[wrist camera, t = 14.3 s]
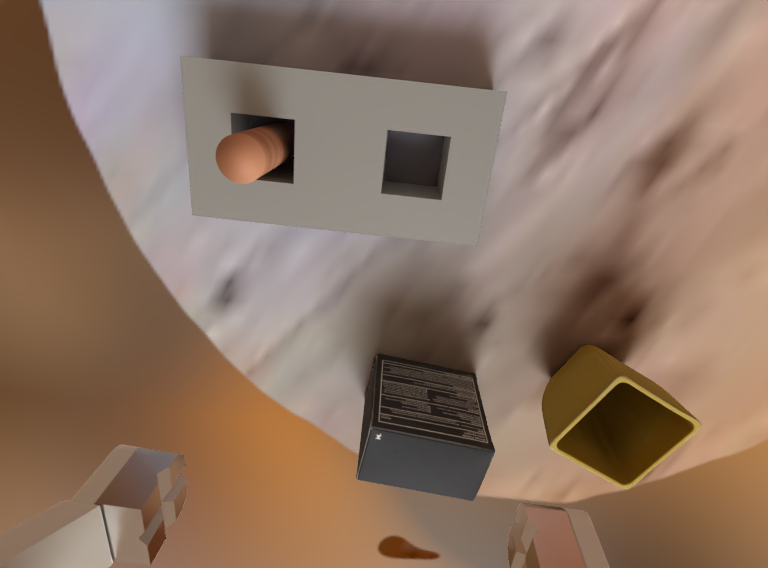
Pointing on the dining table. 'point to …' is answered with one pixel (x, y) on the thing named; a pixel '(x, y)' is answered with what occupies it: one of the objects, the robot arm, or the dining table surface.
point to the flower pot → (612, 417)
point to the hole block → (341, 149)
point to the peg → (255, 151)
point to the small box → (424, 429)
